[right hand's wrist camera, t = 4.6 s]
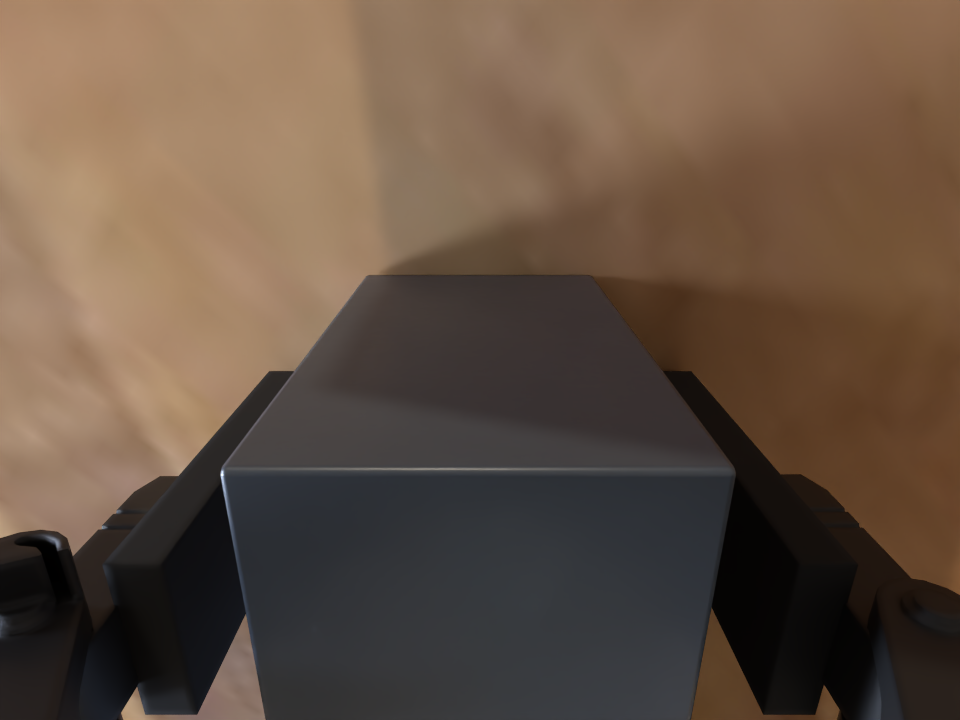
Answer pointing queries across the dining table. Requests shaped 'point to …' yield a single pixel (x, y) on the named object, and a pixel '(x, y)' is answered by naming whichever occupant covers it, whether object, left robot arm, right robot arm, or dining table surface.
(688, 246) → the dining table surface
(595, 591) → the slate bar
